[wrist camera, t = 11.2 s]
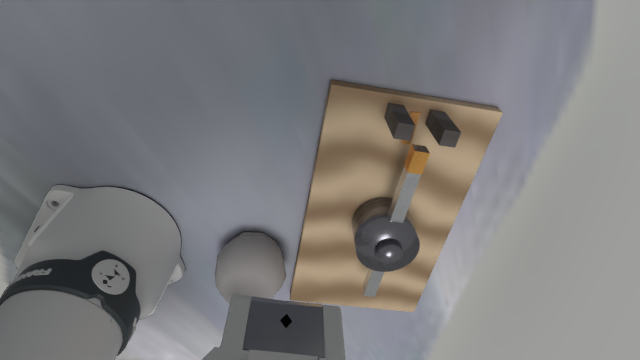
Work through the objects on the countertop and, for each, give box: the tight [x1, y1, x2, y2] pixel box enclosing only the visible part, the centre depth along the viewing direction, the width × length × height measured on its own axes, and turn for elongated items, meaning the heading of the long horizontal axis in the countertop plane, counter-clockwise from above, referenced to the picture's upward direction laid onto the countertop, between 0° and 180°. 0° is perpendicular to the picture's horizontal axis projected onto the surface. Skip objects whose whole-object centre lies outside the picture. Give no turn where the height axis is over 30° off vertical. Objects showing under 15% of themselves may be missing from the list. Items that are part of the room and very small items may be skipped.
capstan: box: [352, 144, 430, 297], centre depth 43 cm, size 20×7×6 cm, turn 169°
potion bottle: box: [215, 232, 286, 347], centre depth 43 cm, size 9×9×18 cm
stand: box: [290, 80, 503, 312], centre depth 45 cm, size 31×18×6 cm, turn 170°
